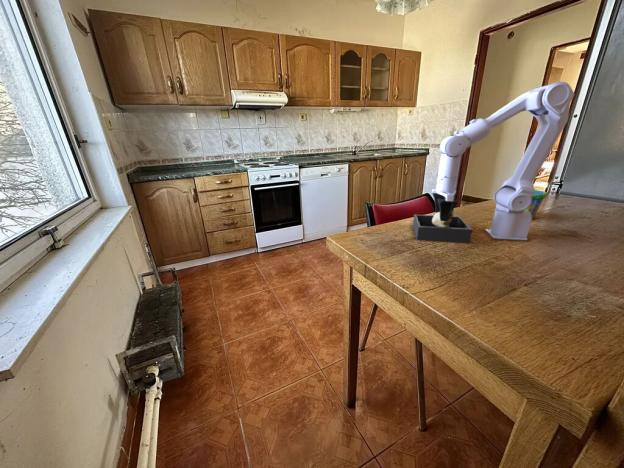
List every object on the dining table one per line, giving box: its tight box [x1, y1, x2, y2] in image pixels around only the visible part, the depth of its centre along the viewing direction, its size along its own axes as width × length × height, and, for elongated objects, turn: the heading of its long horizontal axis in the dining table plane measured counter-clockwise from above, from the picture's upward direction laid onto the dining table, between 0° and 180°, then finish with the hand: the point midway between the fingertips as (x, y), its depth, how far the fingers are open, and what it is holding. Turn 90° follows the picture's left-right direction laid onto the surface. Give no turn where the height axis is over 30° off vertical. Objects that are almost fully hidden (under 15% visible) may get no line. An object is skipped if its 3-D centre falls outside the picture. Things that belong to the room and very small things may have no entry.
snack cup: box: [526, 189, 547, 219], centre depth 101 cm, size 16×10×10 cm
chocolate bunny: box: [432, 208, 455, 228], centre depth 86 cm, size 6×8×10 cm
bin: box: [412, 214, 473, 244], centre depth 88 cm, size 16×14×5 cm
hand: (441, 217), depth 87 cm, fingers closed on chocolate bunny, 7 cm apart
